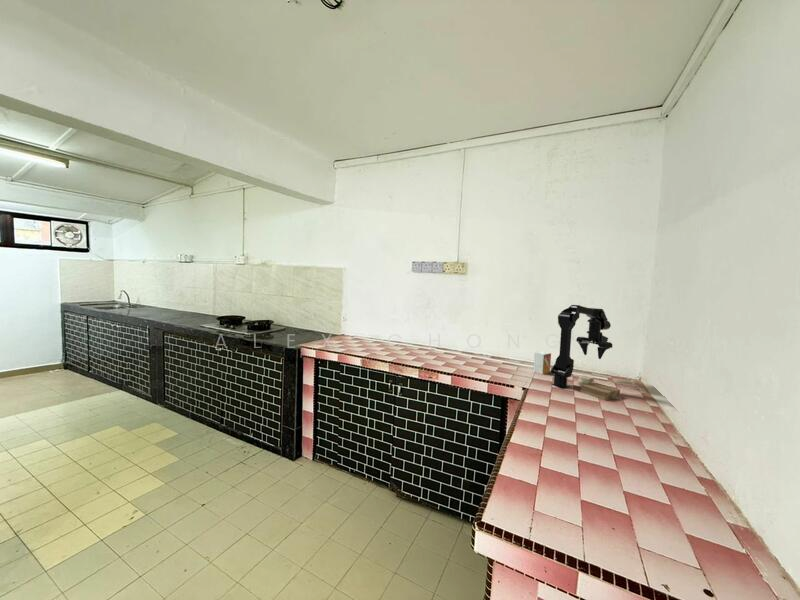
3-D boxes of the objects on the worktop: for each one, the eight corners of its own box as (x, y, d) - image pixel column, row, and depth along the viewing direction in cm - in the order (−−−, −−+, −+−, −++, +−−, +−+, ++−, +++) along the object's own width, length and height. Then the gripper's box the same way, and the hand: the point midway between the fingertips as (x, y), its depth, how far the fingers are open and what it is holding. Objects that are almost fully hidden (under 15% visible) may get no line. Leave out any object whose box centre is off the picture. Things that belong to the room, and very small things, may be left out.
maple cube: (587, 388, 162) (587, 379, 162) (578, 385, 167) (578, 376, 166) (593, 387, 164) (593, 378, 164) (584, 384, 169) (584, 375, 169)
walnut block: (604, 401, 145) (605, 393, 145) (580, 392, 156) (580, 385, 156) (619, 397, 150) (619, 389, 150) (594, 389, 161) (595, 382, 161)
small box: (542, 376, 181) (543, 354, 181) (532, 373, 187) (534, 352, 186) (550, 374, 186) (551, 353, 185) (540, 371, 191) (541, 351, 190)
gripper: (621, 332, 168) (618, 360, 168) (591, 327, 185) (588, 352, 186) (605, 332, 164) (603, 361, 165) (576, 327, 182) (574, 353, 183)
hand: (592, 356), depth 175 cm, fingers open, 9 cm apart
